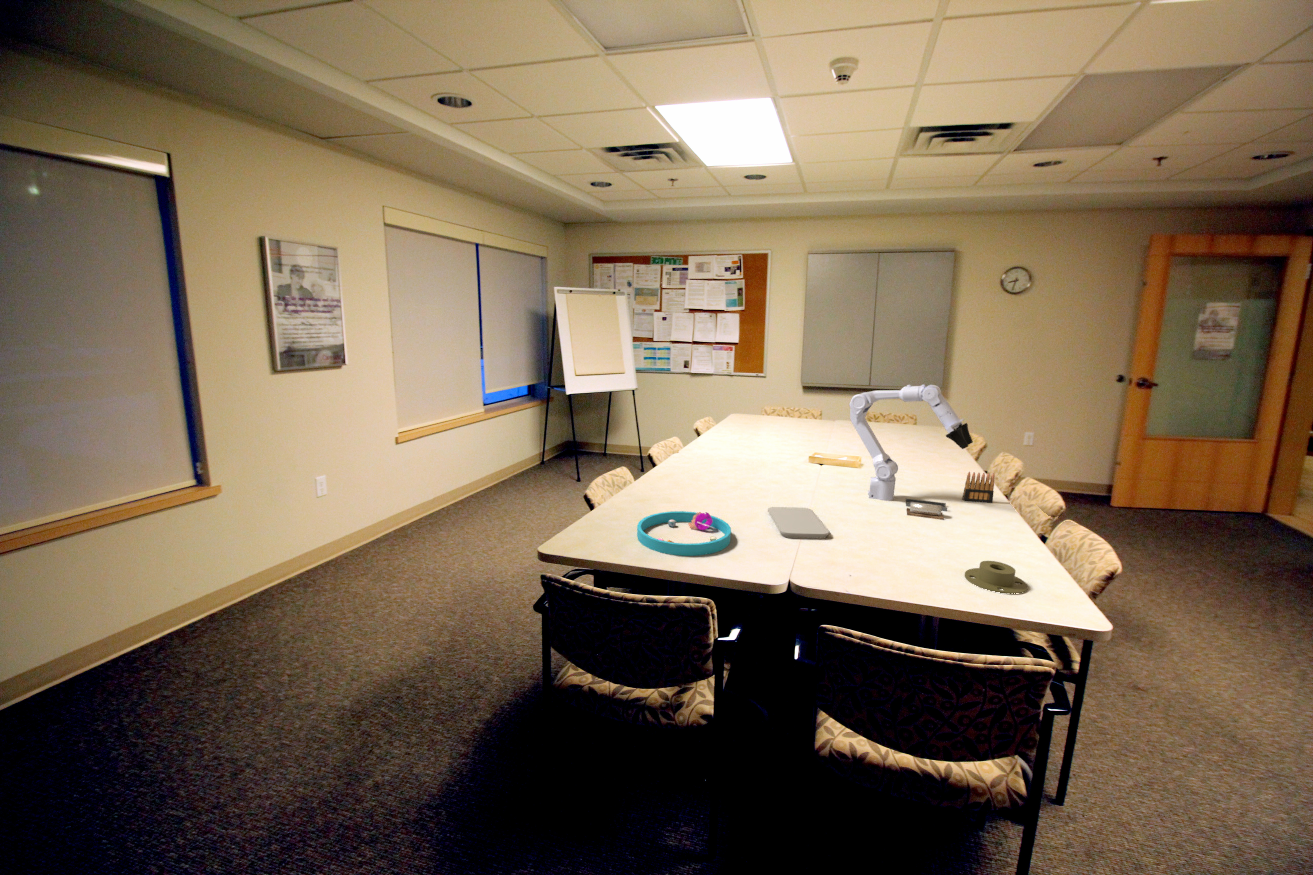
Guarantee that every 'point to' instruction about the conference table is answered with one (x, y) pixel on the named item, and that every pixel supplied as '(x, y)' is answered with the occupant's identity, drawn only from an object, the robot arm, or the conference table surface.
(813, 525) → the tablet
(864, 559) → the conference table surface
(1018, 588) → the flange
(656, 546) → the teal round ring
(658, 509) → the conference table surface
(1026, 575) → the conference table surface
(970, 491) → the ammunition clip
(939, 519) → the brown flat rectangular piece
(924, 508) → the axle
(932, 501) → the cradle
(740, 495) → the conference table surface
